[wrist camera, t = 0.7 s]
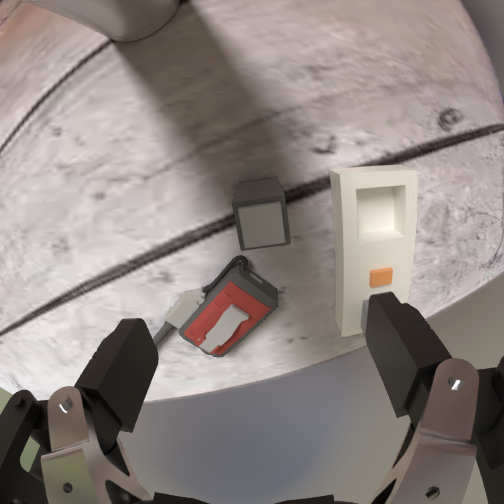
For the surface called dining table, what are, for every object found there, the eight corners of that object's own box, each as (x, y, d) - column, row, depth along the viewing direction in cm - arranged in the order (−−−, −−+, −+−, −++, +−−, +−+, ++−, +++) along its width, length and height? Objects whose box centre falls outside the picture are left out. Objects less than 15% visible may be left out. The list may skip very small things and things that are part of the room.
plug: (239, 182, 25) (230, 204, 18) (276, 177, 25) (285, 196, 17) (245, 218, 27) (240, 254, 19) (281, 213, 27) (291, 247, 19)
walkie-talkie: (225, 237, 28) (143, 340, 35) (220, 255, 24) (133, 362, 31) (288, 283, 30) (194, 370, 37) (293, 306, 26) (189, 393, 33)
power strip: (329, 169, 25) (369, 190, 15) (400, 164, 24) (460, 184, 15) (335, 318, 32) (356, 380, 23) (392, 307, 31) (425, 361, 22)
